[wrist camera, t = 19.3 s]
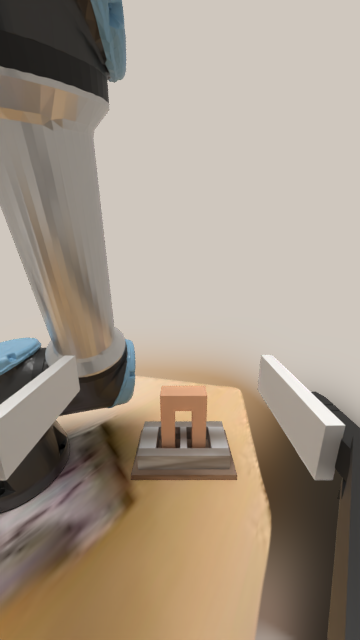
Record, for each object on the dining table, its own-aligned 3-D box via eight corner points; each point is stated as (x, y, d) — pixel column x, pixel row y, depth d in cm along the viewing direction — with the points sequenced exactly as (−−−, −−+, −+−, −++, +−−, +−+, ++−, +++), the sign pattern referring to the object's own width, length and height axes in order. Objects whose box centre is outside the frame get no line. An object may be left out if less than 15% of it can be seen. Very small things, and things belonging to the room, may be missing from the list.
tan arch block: (205, 456, 38) (207, 395, 35) (162, 456, 38) (160, 395, 35) (203, 443, 41) (205, 385, 38) (163, 443, 41) (161, 386, 38)
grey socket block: (236, 479, 35) (238, 460, 34) (131, 479, 35) (129, 461, 34) (224, 433, 45) (225, 418, 44) (142, 433, 45) (141, 418, 44)
